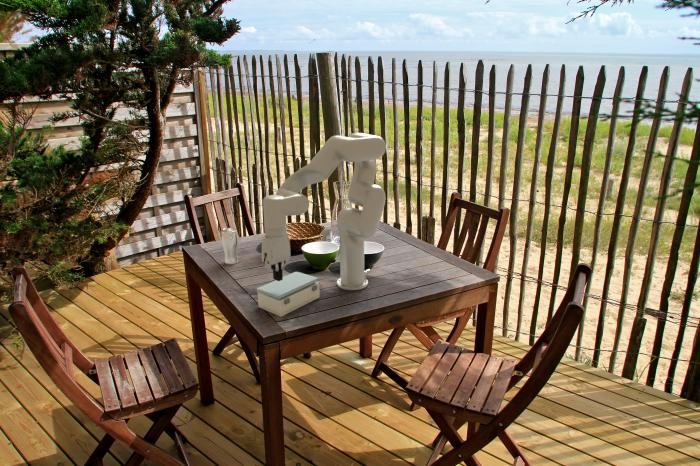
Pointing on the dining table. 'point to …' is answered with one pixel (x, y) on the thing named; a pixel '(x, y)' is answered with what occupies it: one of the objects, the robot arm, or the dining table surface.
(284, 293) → the lid
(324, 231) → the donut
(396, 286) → the dining table surface
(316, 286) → the box
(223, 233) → the beer glass
